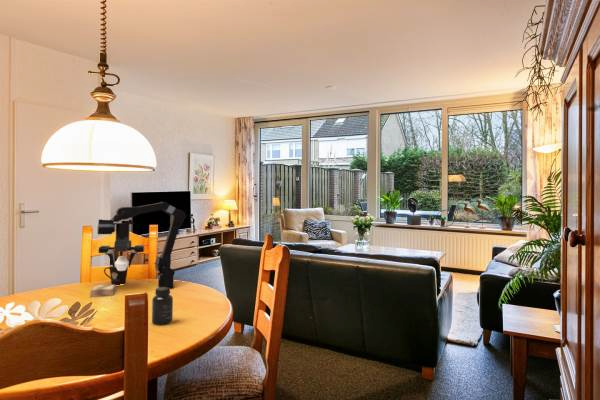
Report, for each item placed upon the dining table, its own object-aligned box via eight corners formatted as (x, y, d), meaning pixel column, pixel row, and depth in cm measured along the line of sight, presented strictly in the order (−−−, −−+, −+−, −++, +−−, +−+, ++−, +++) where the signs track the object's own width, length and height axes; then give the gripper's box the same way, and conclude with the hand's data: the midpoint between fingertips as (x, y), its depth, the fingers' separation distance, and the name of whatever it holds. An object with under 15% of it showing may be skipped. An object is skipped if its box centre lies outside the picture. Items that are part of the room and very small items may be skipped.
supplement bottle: (147, 323, 126) (148, 288, 126) (164, 318, 132) (165, 285, 132) (159, 327, 122) (160, 291, 122) (176, 321, 128) (177, 287, 128)
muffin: (112, 270, 168) (112, 255, 168) (125, 268, 172) (125, 254, 172) (117, 272, 164) (118, 256, 164) (131, 270, 168) (131, 255, 168)
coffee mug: (131, 284, 185) (131, 265, 186) (115, 287, 178) (115, 267, 178) (118, 281, 192) (118, 262, 192) (102, 284, 184) (102, 265, 184)
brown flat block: (115, 291, 171) (116, 284, 171) (113, 295, 162) (113, 288, 162) (94, 292, 168) (94, 285, 168) (90, 297, 159) (90, 289, 159)
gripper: (96, 235, 157) (95, 271, 157) (143, 235, 164) (142, 269, 164) (101, 233, 168) (100, 267, 168) (144, 233, 174) (143, 265, 174)
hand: (121, 267), depth 168 cm, fingers closed on muffin, 6 cm apart
